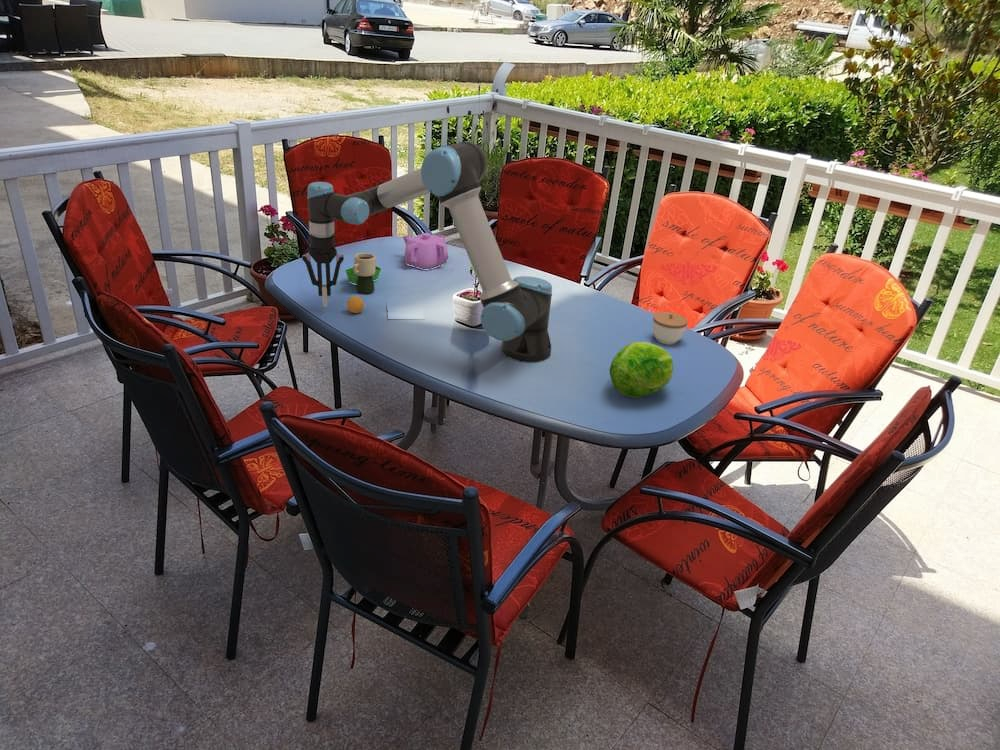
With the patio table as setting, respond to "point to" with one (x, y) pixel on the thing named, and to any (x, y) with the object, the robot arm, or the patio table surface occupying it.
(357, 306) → the ball
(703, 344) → the patio table surface
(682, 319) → the lidded jar
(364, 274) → the character mug
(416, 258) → the pink squat rounded shape
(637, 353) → the lettuce
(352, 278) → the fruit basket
